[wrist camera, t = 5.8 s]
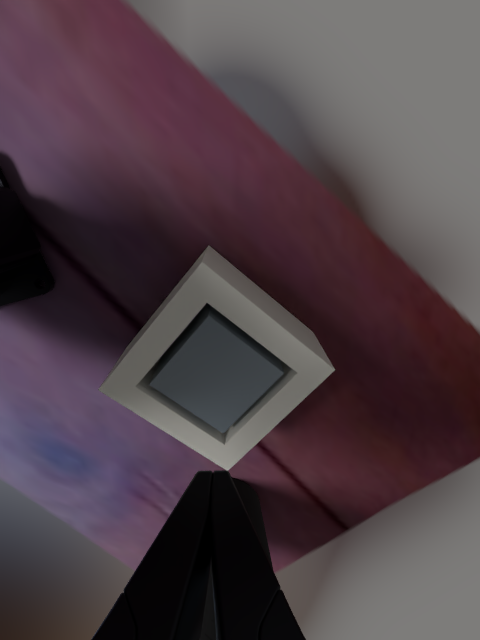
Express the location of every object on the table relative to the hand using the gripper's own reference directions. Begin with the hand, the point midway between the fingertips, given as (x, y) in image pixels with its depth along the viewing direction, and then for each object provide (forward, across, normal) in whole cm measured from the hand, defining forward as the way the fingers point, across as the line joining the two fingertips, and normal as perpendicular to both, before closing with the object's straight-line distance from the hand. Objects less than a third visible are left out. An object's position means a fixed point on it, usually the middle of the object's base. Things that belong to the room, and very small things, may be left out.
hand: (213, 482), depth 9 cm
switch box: (+9, 0, 0) cm, 9 cm away
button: (+8, 0, 0) cm, 8 cm away
